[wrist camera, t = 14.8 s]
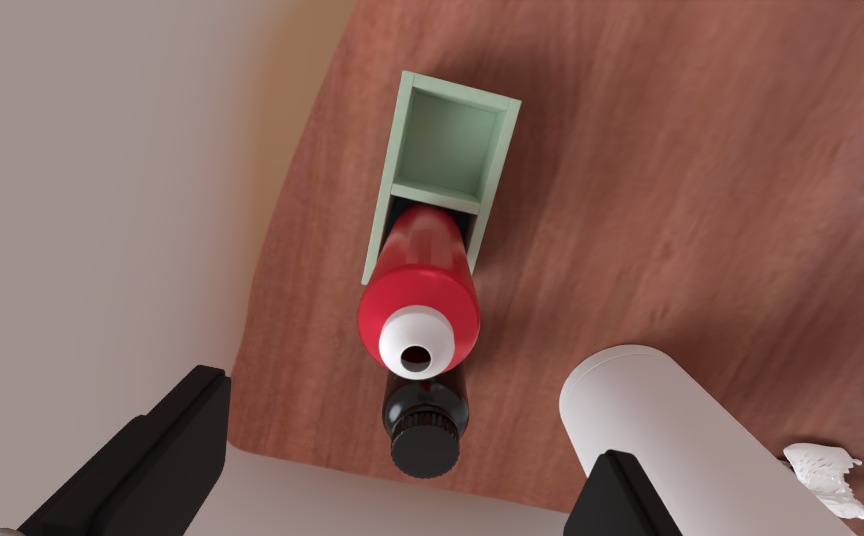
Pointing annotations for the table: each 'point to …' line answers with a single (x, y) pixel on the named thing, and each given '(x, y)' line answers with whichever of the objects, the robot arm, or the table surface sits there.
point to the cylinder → (686, 448)
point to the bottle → (420, 296)
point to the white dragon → (825, 476)
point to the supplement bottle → (426, 421)
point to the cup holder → (443, 157)
